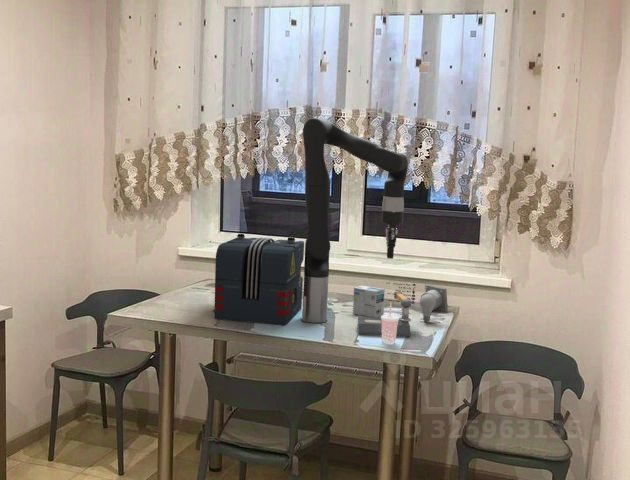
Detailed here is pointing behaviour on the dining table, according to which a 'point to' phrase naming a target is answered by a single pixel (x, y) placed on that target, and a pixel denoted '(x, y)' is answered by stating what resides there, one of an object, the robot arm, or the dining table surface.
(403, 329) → the grey rectangular block
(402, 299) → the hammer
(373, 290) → the light bulb box
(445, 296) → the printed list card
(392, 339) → the beverage cup
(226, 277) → the power unit
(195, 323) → the dining table surface
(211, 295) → the dining table surface
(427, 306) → the lightbulb
